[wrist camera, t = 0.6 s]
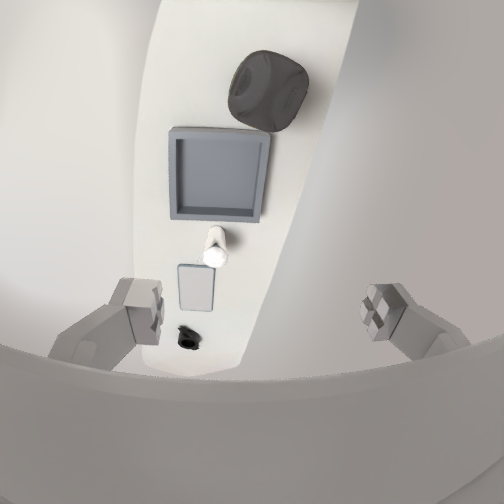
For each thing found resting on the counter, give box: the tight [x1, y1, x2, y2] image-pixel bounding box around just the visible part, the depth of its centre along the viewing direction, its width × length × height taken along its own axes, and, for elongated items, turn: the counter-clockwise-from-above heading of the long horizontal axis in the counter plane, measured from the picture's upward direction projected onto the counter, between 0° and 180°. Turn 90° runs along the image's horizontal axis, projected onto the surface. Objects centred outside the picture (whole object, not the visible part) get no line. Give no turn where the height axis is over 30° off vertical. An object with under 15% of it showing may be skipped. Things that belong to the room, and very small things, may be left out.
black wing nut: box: [178, 328, 199, 350], centre depth 74 cm, size 8×10×3 cm
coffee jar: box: [228, 50, 309, 132], centre depth 32 cm, size 10×8×19 cm
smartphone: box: [177, 264, 215, 312], centre depth 64 cm, size 8×1×15 cm
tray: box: [169, 127, 271, 223], centre depth 46 cm, size 16×16×4 cm
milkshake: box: [197, 226, 228, 268], centre depth 52 cm, size 5×5×10 cm
